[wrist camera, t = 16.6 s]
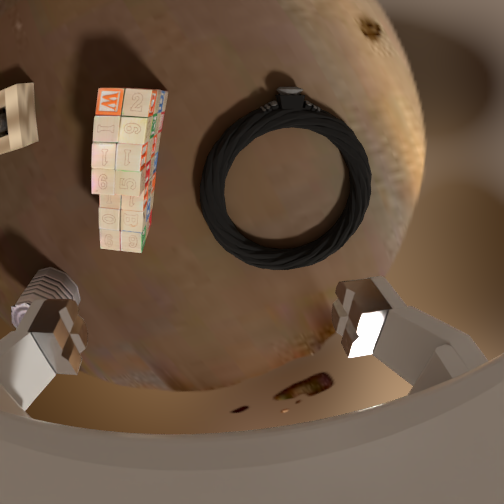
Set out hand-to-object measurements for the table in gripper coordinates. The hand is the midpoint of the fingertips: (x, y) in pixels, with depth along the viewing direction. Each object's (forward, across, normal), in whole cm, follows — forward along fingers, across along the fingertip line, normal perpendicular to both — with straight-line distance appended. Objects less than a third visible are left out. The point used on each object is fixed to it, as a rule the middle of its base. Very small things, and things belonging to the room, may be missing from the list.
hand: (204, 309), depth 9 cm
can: (+37, +33, +26) cm, 56 cm away
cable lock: (+38, -12, +8) cm, 40 cm away
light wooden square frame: (+37, +33, -8) cm, 50 cm away
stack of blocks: (+38, +11, +3) cm, 39 cm away
